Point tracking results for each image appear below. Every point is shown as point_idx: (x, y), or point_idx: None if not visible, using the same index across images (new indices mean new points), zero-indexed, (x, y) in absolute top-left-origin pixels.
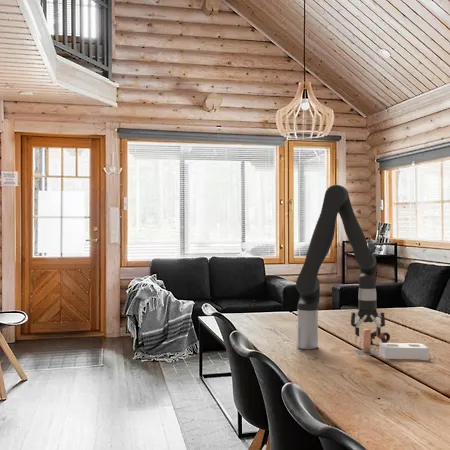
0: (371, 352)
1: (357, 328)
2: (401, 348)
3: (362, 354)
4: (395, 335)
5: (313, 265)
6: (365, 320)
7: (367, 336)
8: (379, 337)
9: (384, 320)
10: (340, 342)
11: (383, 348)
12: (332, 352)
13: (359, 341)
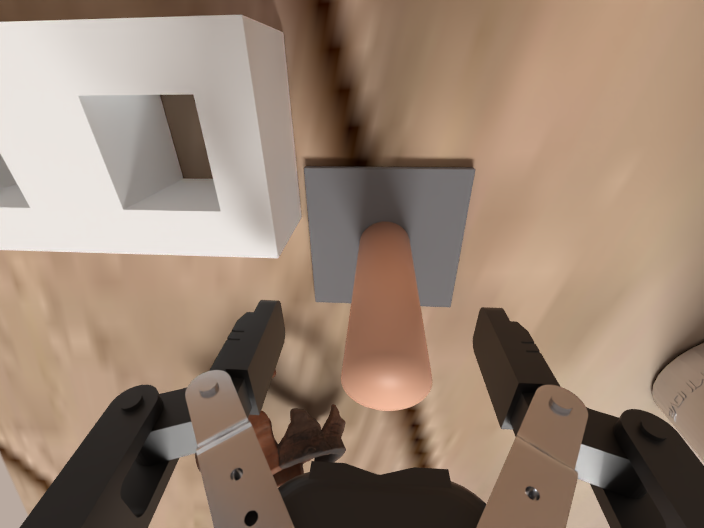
0: (351, 245)
1: (539, 380)
2: (53, 21)
3: (438, 181)
4: (194, 513)
5: None
6: (438, 511)
7: (390, 296)
8: (259, 416)
9: (58, 482)
10: (457, 450)
11: (261, 89)
12: (633, 261)
13: (355, 460)
